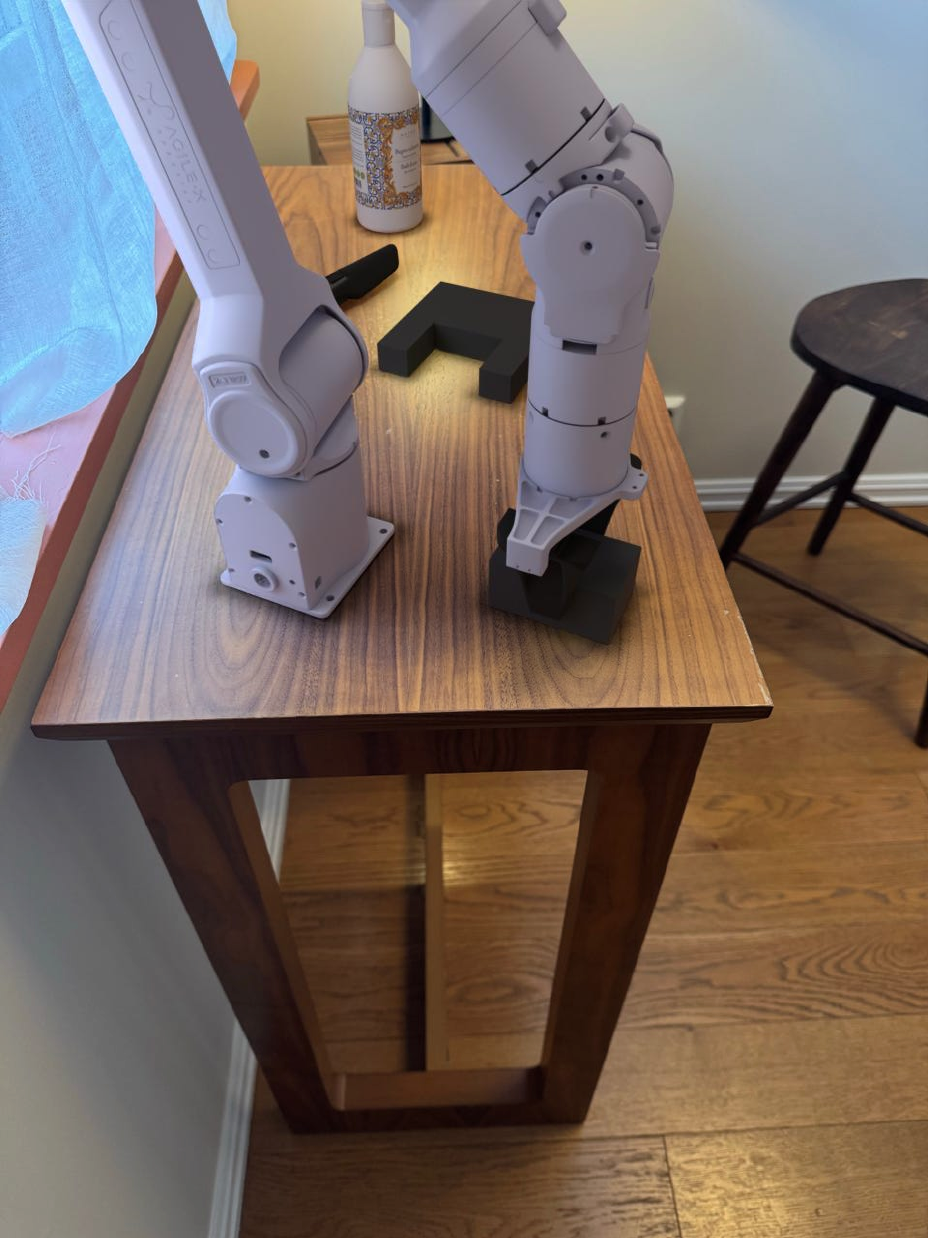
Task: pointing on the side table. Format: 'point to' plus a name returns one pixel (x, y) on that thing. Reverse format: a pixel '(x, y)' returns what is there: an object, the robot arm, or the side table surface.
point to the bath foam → (384, 128)
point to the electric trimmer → (363, 274)
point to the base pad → (465, 336)
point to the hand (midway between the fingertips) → (562, 583)
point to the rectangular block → (576, 589)
